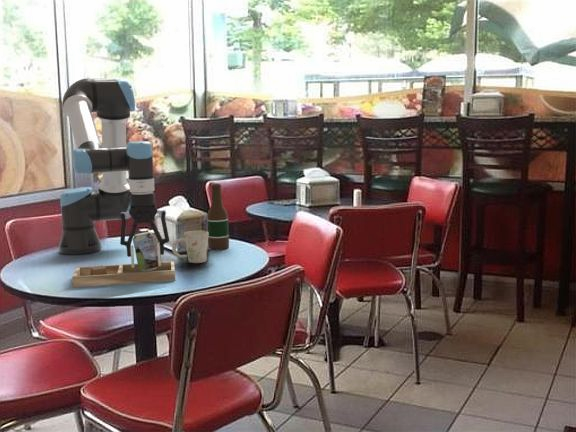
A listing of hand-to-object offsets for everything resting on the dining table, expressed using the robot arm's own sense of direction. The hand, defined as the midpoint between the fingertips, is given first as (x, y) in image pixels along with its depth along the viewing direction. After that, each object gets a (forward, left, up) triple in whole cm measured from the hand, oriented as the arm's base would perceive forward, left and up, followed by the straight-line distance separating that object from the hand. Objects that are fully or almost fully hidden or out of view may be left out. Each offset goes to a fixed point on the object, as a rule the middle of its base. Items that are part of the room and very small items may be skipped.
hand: (146, 265), depth 219 cm
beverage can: (0, 0, -2) cm, 2 cm away
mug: (-21, +15, -5) cm, 26 cm away
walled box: (0, -6, -5) cm, 8 cm away
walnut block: (0, -14, -4) cm, 15 cm away
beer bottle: (-41, +26, -5) cm, 49 cm away
